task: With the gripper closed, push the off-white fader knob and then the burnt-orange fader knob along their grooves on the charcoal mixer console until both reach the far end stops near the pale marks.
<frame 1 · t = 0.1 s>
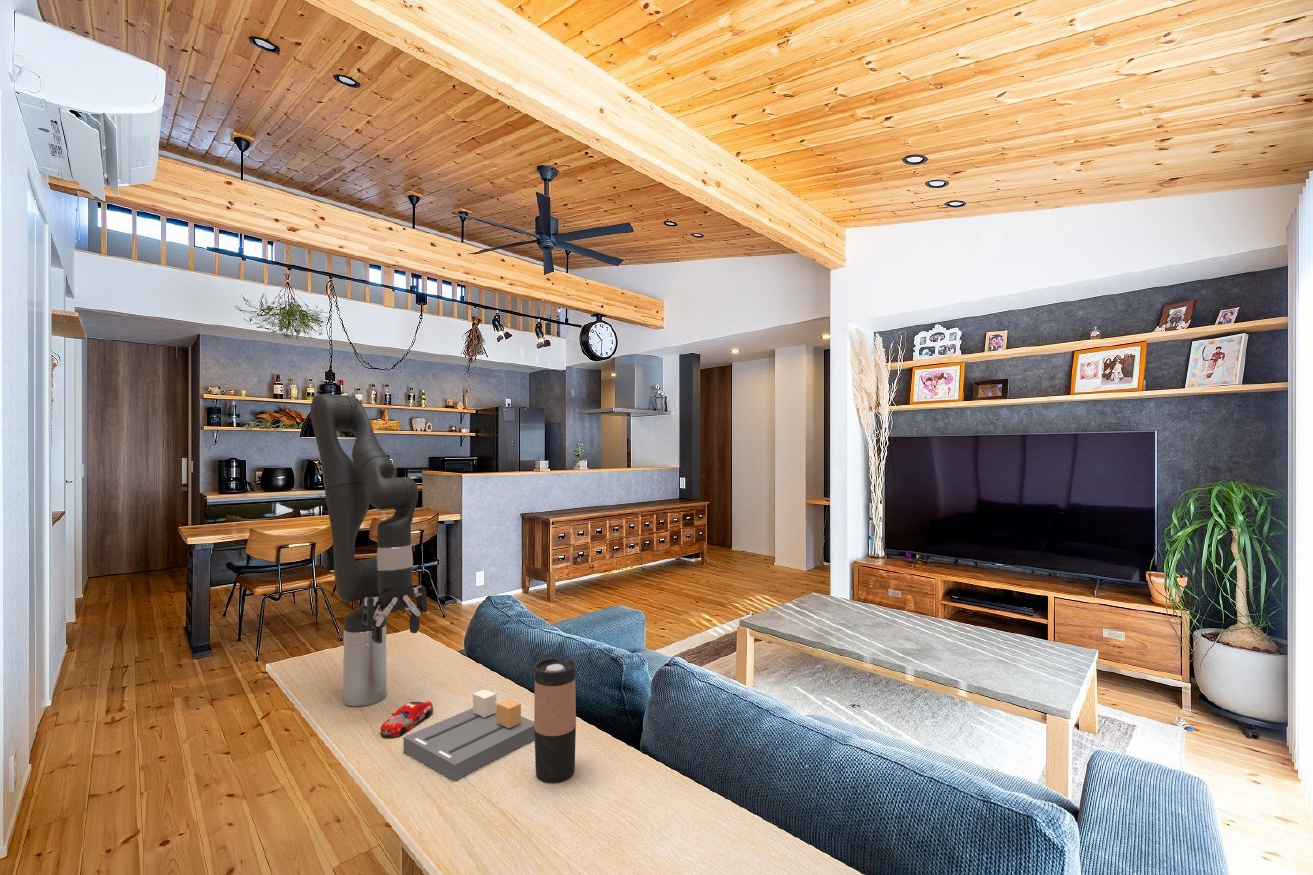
hand: (396, 637, 137), 17 cm above the table, tool pointing down, fingers open, 8 cm apart
race car: (407, 726, 132), on the table
console: (472, 744, 123), on the table
travel mug: (555, 773, 112), on the table
fader a: (484, 703, 130), point 5 cm above the table, slide at 6.0 cm
fader b: (508, 713, 125), point 5 cm above the table, slide at 6.0 cm
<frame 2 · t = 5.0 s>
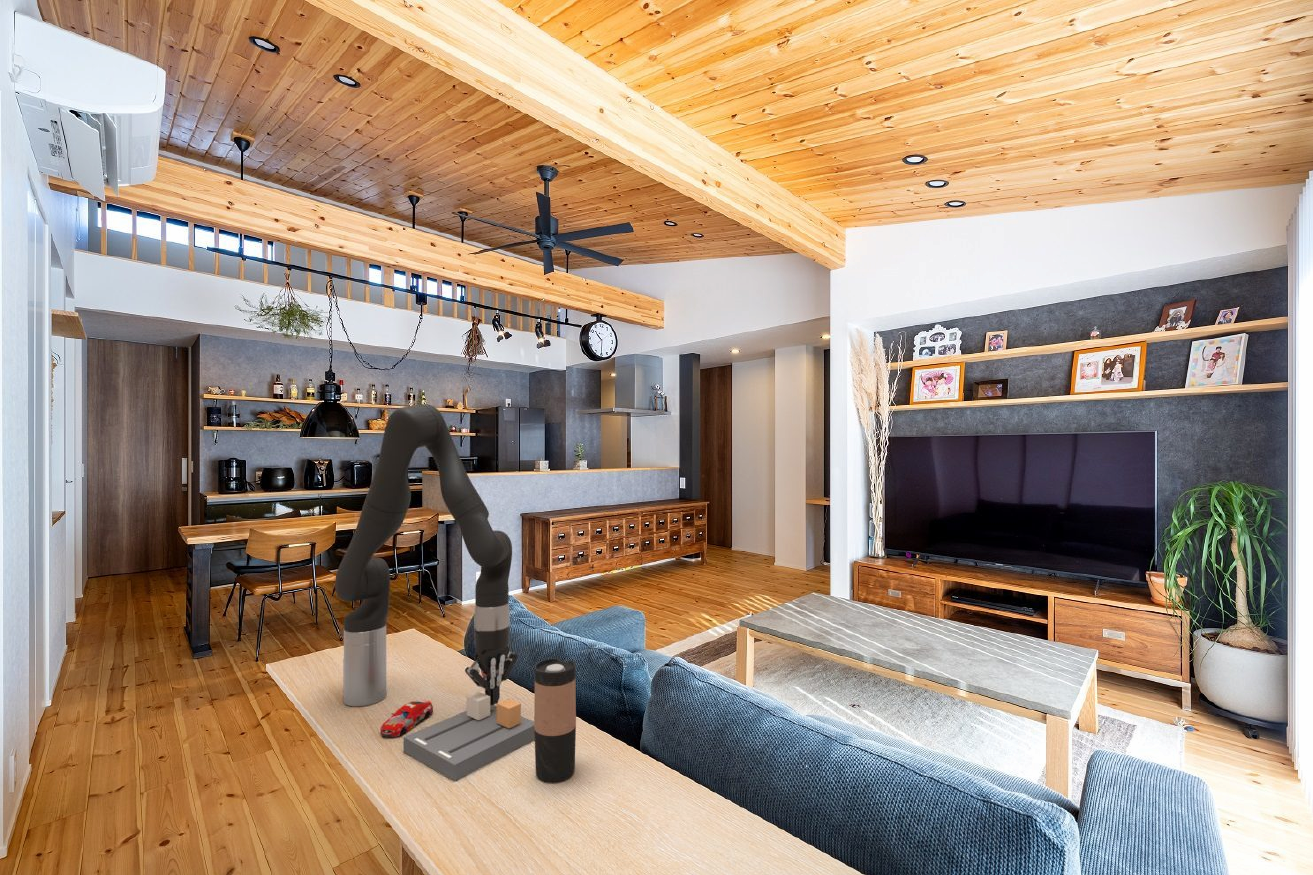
hand: (492, 703, 132), 4 cm above the table, tool pointing down, fingers closed
fader a: (478, 705, 129), point 5 cm above the table, slide at 4.4 cm, touching gripper
everything else where it was.
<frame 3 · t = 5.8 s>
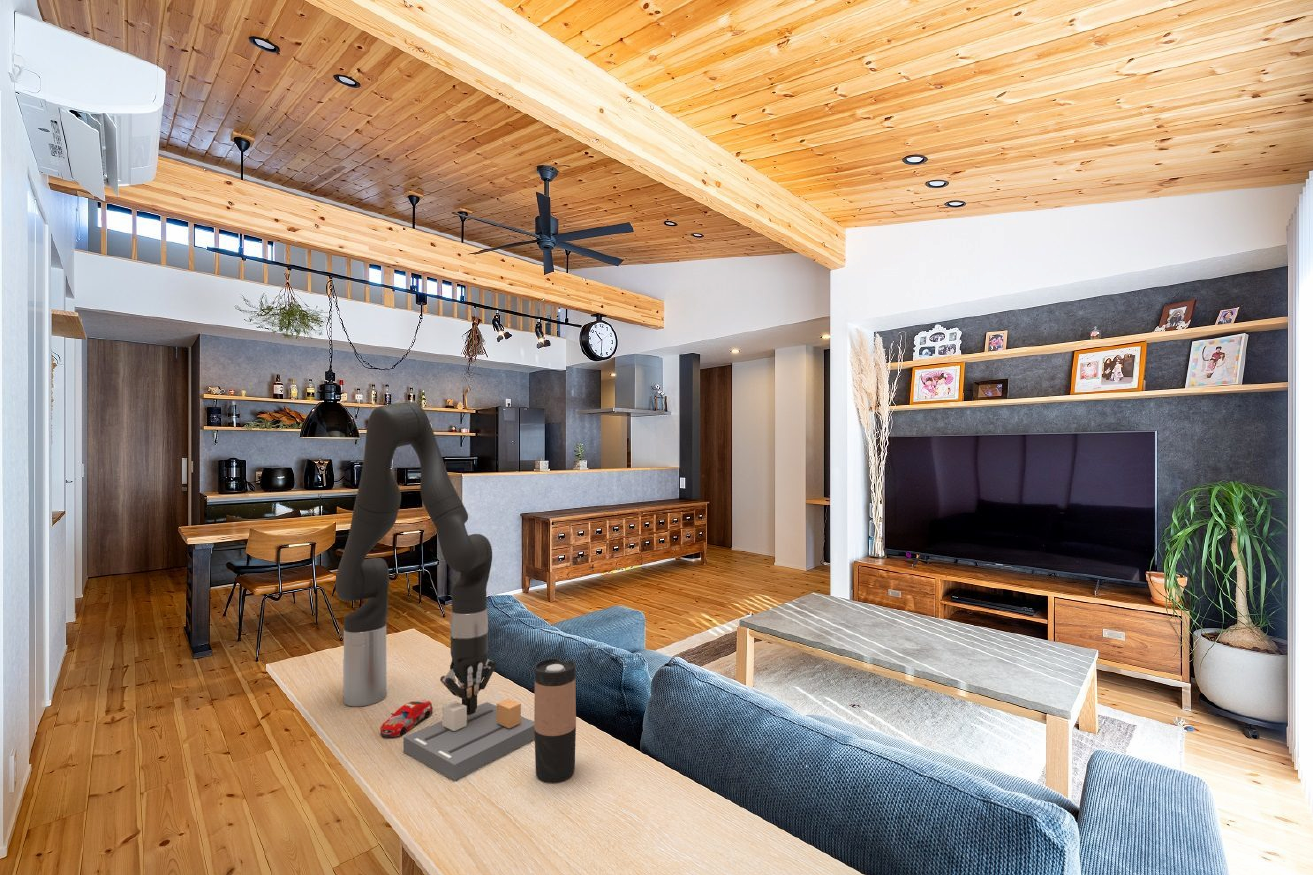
hand: (469, 713, 127), 4 cm above the table, tool pointing down, fingers closed
fader a: (454, 715, 124), point 5 cm above the table, slide at -1.5 cm, touching gripper
everything else where it was.
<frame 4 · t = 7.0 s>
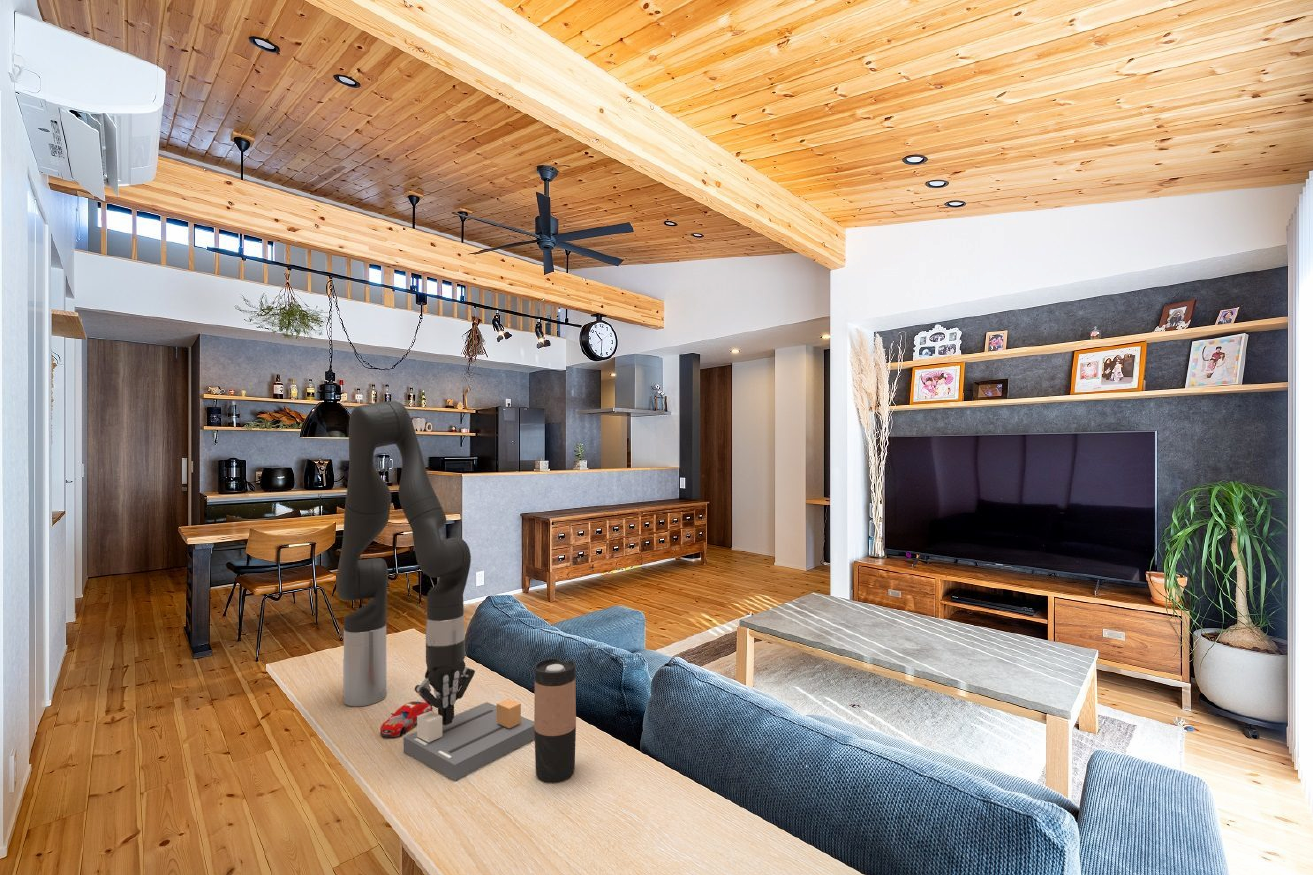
hand: (445, 723, 122), 4 cm above the table, tool pointing down, fingers closed
fader a: (429, 726, 119), point 5 cm above the table, slide at -7.1 cm, touching gripper
everything else where it was.
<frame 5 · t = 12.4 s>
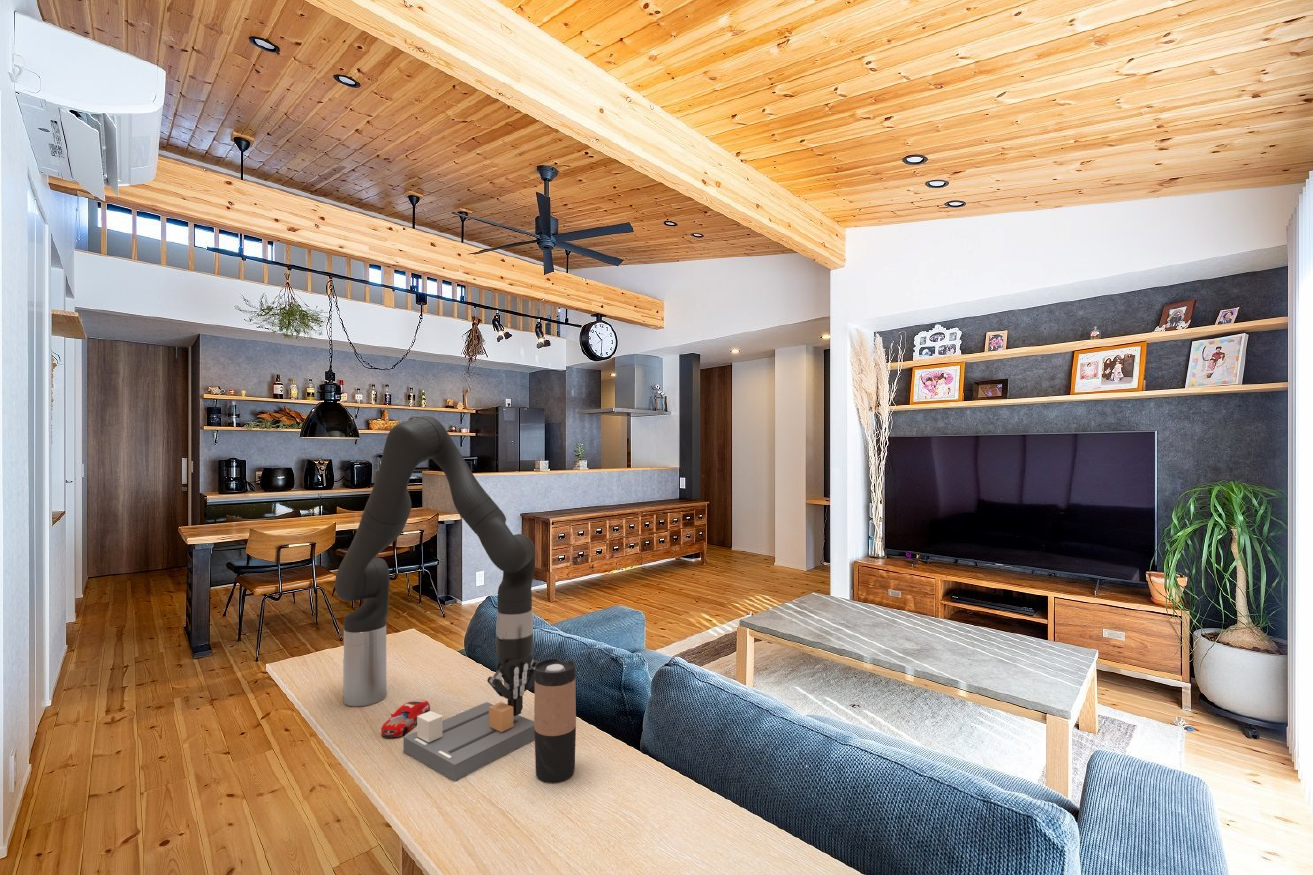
hand: (515, 714, 127), 4 cm above the table, tool pointing down, fingers closed
fader a: (429, 726, 119), point 5 cm above the table, slide at -7.1 cm
fader b: (501, 716, 124), point 5 cm above the table, slide at 4.0 cm, touching gripper
everything else where it was.
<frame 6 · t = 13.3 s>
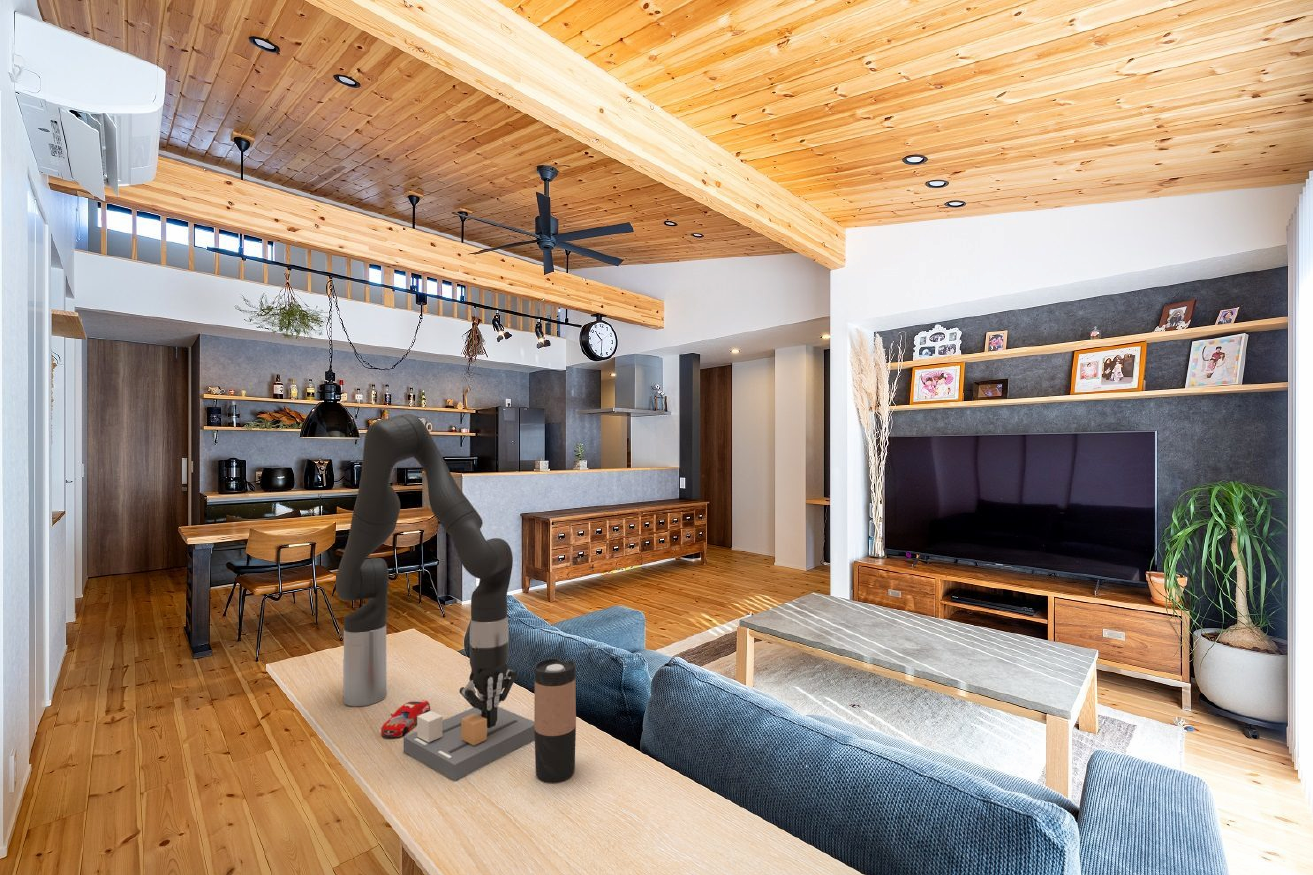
hand: (489, 725, 121), 4 cm above the table, tool pointing down, fingers closed
fader b: (474, 729, 118), point 5 cm above the table, slide at -2.5 cm, touching gripper
everything else where it was.
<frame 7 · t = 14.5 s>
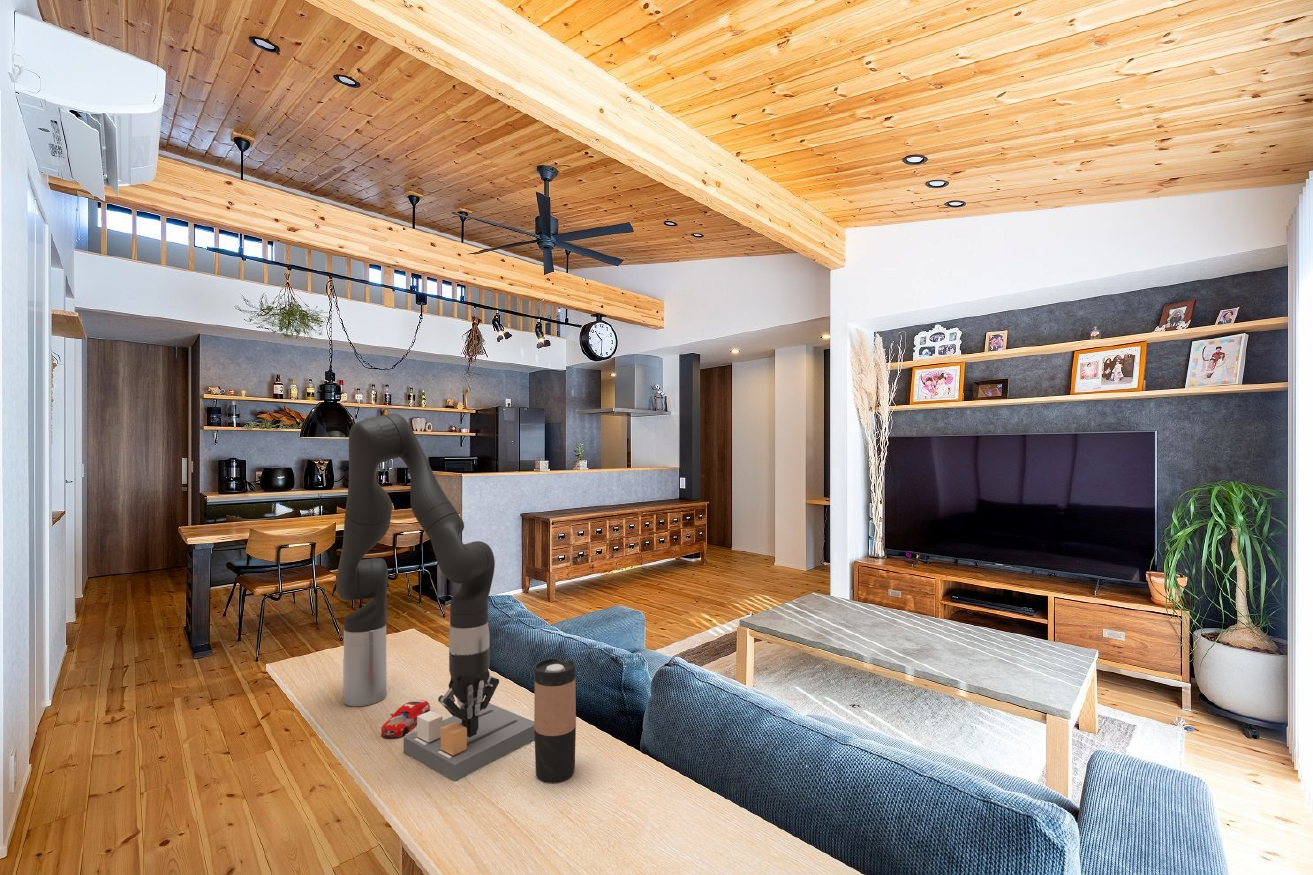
hand: (470, 734, 118), 4 cm above the table, tool pointing down, fingers closed
fader b: (453, 738, 115), point 5 cm above the table, slide at -7.1 cm, touching gripper
everything else where it was.
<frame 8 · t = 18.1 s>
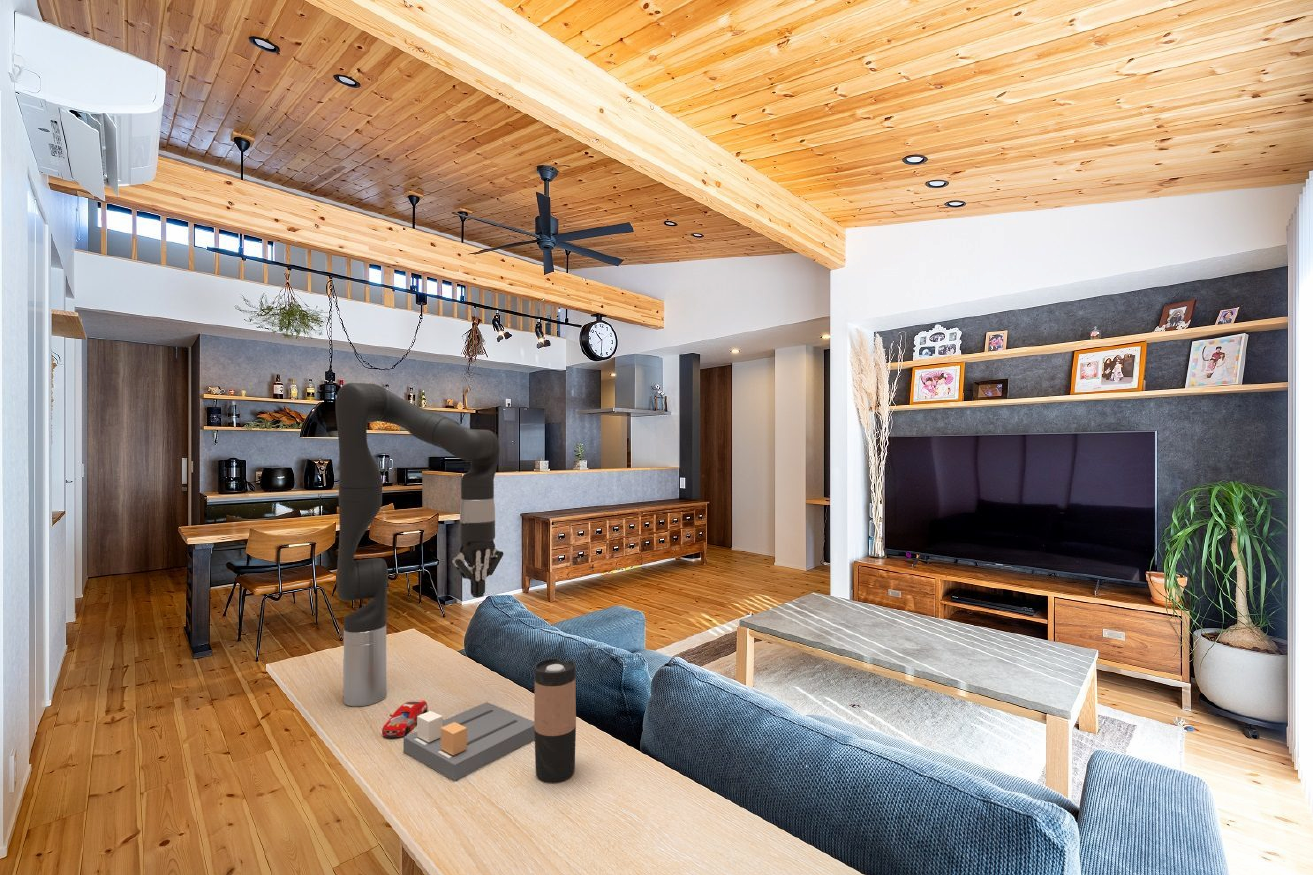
hand: (477, 596, 135), 27 cm above the table, tool pointing down, fingers closed
fader b: (453, 738, 115), point 5 cm above the table, slide at -7.1 cm
everything else where it was.
at the end: fader a slide at -7.1 cm; fader b slide at -7.1 cm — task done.
